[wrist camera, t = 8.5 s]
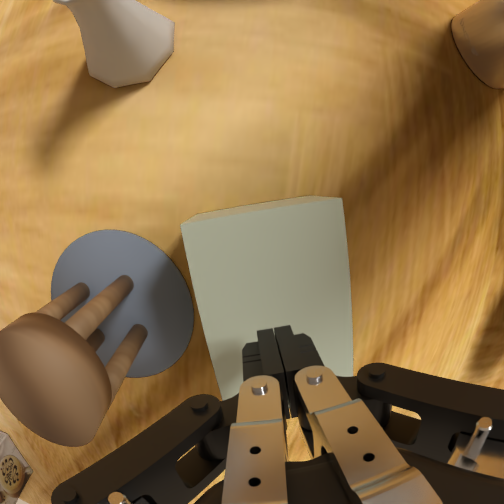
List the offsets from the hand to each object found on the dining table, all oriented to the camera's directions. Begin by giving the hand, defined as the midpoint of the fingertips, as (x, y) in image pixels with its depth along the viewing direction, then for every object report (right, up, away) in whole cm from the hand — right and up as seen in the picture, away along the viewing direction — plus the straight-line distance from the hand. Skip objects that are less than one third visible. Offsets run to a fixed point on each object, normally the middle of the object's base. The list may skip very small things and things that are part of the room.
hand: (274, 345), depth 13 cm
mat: (-12, 0, +9) cm, 15 cm away
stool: (-8, 0, +7) cm, 11 cm away
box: (0, +2, +9) cm, 9 cm away
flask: (-10, +20, +5) cm, 23 cm away
